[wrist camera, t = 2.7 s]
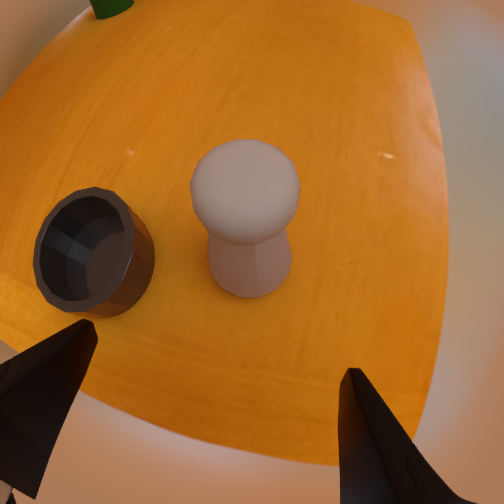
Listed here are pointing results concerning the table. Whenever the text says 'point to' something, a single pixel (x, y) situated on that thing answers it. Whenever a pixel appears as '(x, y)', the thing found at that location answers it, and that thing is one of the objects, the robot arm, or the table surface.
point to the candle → (109, 7)
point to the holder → (93, 255)
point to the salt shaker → (246, 214)
